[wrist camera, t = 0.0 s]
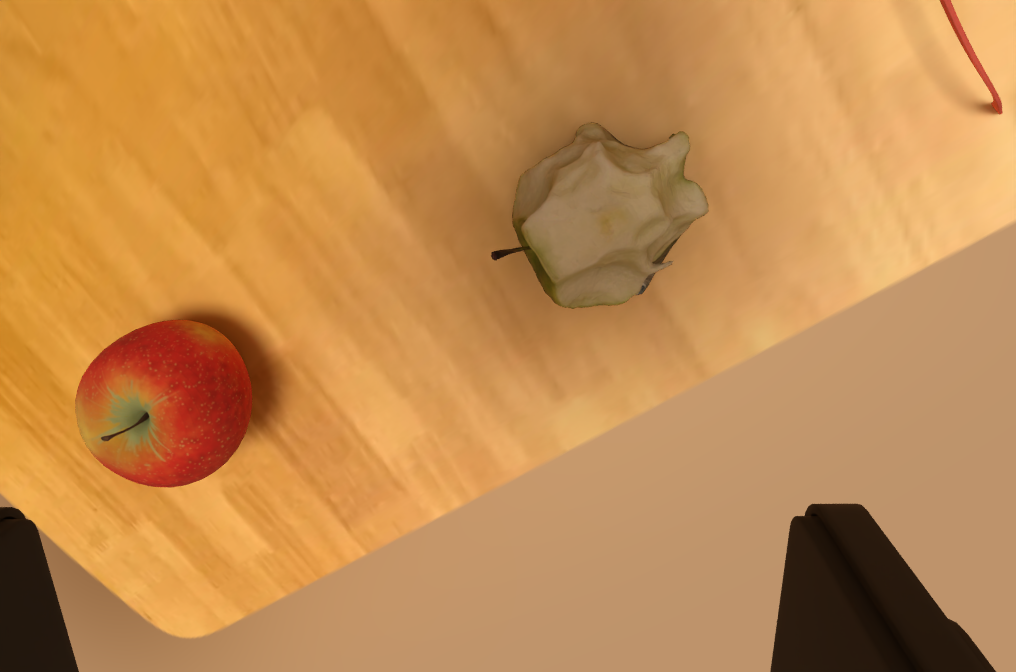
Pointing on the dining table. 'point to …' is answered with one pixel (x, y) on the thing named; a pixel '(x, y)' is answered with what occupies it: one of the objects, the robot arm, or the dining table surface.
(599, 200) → the fruit
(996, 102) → the red eyeglasses
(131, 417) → the apple
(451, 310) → the dining table surface
